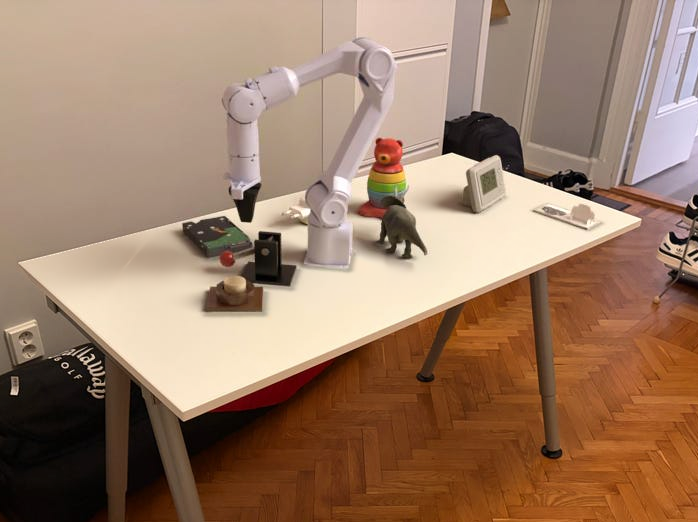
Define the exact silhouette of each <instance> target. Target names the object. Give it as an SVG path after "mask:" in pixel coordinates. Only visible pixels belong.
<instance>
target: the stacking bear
mask: <svg viewBox="0 0 698 522" xmlns="http://www.w3.org/2000/svg"><path fill="white" fill-rule="evenodd" d="M374 141H375V147H374V149H373V156H374V159H375V162H374V163H373V164H372V165H371V167H370V170H369V172H368V177H367V180H366V193H367V196H368V200H367V201H365V202H363V203H362V204H361V205H360V206H359V208H358V211H357V212H358V214H359V215H361V216H364V217H376V218H380V219H382V217H383V215H384V214H385V212H386V211H387V209H388V208H389V207H387V208H385V207H382V206H381V204H380V201H381V199H382V197H384V196H388V195H390V196H392V195H393V196H394V189H395V187H396V185H397V184H398V186H397V196H398V197H400V196H401V194H402V193H403V192H404V191H405V190H406V189H407V179H406V173H405V169H404V166H403V165H402V163H401V160H402V157H403V146H404V142H403V141H402V140H400V139H397V140H396V139H394V138H382V137H377V138H375V140H374Z"/></svg>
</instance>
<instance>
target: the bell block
mask: <svg viewBox="0 0 698 522" xmlns="http://www.w3.org/2000/svg"><path fill="white" fill-rule="evenodd" d="M263 306H264V286H255V283H251V282H250V281H248V280H246V290H245V291H244V292H240V293H229V292H225V290H224V280H222V281H220V282H218V283H217V284H216V285H215V286H210V287H209V292H208V297H207V302H206V312H207V313H260V312H261V313H262V312H263V308H264V307H263Z"/></svg>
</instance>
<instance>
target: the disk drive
mask: <svg viewBox="0 0 698 522" xmlns="http://www.w3.org/2000/svg"><path fill="white" fill-rule="evenodd" d="M181 224H182V225H181V226H182V233H183V234H184V235H185V236H186V237H187V238H188V239H189V240H190V241H191V242H192V243H193V244H194V245H195V246H196V247H197V248H198V250H200V251H201V252H202V254H203V255H204V256H205V257H206V258H207V259H210V258H216V257H220V255H221V253H222V252H224V251H230V252H232V253H233V254H234V253H237V252H240V251H243V250H246V249H249V248H252V247H253V242H252V240H251V238H250V237H249V235H247V234H246V233H245V232H244V231H243V230H242V229H241V228H239V226H237V224H235V223H234V222H232V220H231V219H229V218H228V217H227V216H226V215H221V216H216V217H209V218H203V219H200V220H199V221H197V222H193V221H191V220H190V221H186V222H182V223H181Z"/></svg>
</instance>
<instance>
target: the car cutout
mask: <svg viewBox="0 0 698 522" xmlns="http://www.w3.org/2000/svg"><path fill="white" fill-rule="evenodd" d="M533 212H535V213H538V214H539V215H540V214H541V215H543V216H547V217H550V218H553V219H555V220H558V221H559V222H563V223H566V224H569V225H572V226H574V227H578V228H581V229H584V230H586V231H589V230H590V229H591V228H593V227H595V226H598V225H599V224H601V222H602V221H601V220H599V219H595V216H596V215H595V212H594V211H592V209H591V206H588V205H587V204H583V203H579V204H578V205H577V206H576V205H573V206H572V207H571V210H569V209H567V208H563V207H560V206H557V205H555V204H552V203H549V202H548V203H546V204H543V205H541V206H539V207H537V208H535V209H534V210H533Z"/></svg>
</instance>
